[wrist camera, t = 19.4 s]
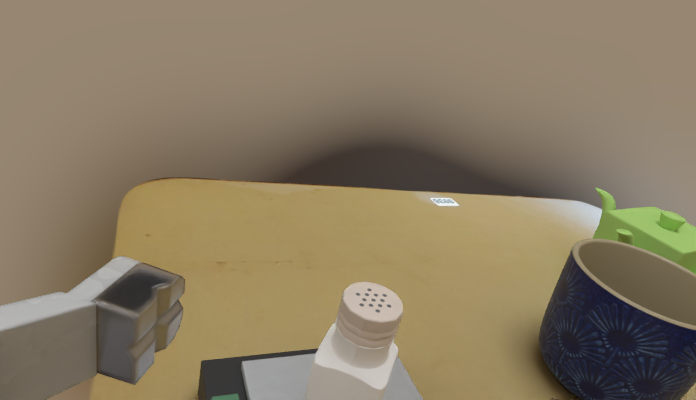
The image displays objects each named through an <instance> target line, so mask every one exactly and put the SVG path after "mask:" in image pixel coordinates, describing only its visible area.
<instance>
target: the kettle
mask: <svg viewBox="0 0 696 400" xmlns="http://www.w3.org/2000/svg"><path fill="white" fill-rule="evenodd" d="M596 190H597V192H598V193H599V195H600V196H601V199H602V202H603V210H602V215H601V219H600V223H599V226H598V228H597V230H596V232H595V234H594V236H593V238H592V239H606V240H613V241H618V242H622V243H626V244H629V245H633V246H636V247H639V248H642V249H645V250H647V251H650V252H652V253H655V254H657V255H660V256H662V257H664V258H666V259H668V260H671V261H673V262H675V263H677V264H678V265H680V266H682V267H684V268H686V269H688V270H689V271H691V272H693V273H695V274H696V227H694V226H692V225H690V224H688V223H686V219H684V218H683V217H682V216H680V215H678V214H676V213H673V212H670V211H662V210H660V209H658V208H656V207H641V208H630V209H620V210H616V204H615V201H614V198H613V197H612V196H611V195H610V194H608V193H607V192H605V191H603V190H601V189H598V188H596Z"/></svg>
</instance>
